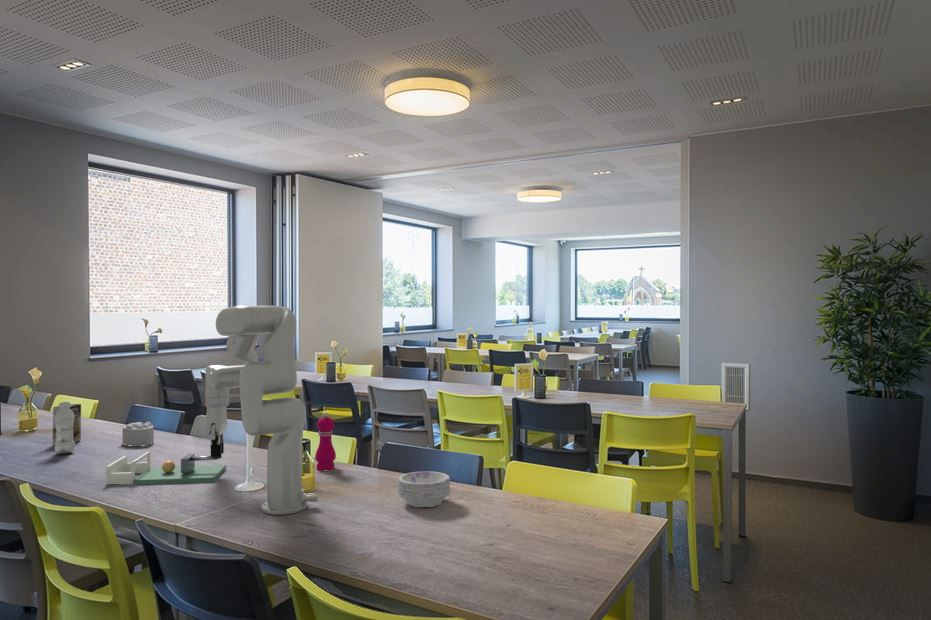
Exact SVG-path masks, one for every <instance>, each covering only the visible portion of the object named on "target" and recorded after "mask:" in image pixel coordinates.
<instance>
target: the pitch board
mask: <svg viewBox="0 0 931 620" xmlns="http://www.w3.org/2000/svg"><path fill="white" fill-rule="evenodd" d="M225 469H227V464H216V465H213V464H212V465H211V464H210V465H195V468H194V469H193V470H192V471H190V472H189V473H181V465H180V466H175V469H174V470H173V471H172V472H170V473H166V472H164V471H163V470H162V466H154V467H153V466H152V467H151V466H150V469H148V470H147V471H145V472H144V473H140V475H138V476H137V477H135V479H134V480H133V484H132V485H133V486H134V484H143V485H158V484H157V483H171V484H193V482H199V483H214V482H215V481H216V480H217V479H218V478H219V477H220V476H221V475H222V474H223V473H224V472H225V471H226V470H225ZM224 470H225V471H224ZM223 471H224V472H223Z"/></svg>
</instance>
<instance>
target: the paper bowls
mask: <svg viewBox="0 0 931 620" xmlns="http://www.w3.org/2000/svg"><path fill="white" fill-rule="evenodd" d="M397 483H398V485H397V486H398V487H397V488H398V491H397V492H398V496H399V497H401V498H403V499H404V500H405V502H406V504H407V505H408V506H410V505H411V506H410V507H412V506H414V507H413V508H417V507H430V508H432V507H431V506H435V507H437V506H436V505H438V506H439V505H440V503H441V504H442V502H443V500H444V498H446V497H448V496H450V493H451V478H450V475H448V474H446V473H444V472H438V471H430V470H429V471H427V470H425V471H423V470H422V471H413V472H407V473H404V474H402V475H400V476H399V477H398V482H397Z"/></svg>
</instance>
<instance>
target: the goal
mask: <svg viewBox="0 0 931 620" xmlns="http://www.w3.org/2000/svg"><path fill="white" fill-rule="evenodd" d="M145 458H146V461H143V462H140V461H142V460H143V459H145ZM150 468H151V451H147V452H144V453H143V454H142V455H141V456H139V457H138V458H136V459H133V460H132V461H131V462H128V455H123V456H122V457H120V458H118V459H116V460H115V461H113V462H112V463H110V464H108V465H106V467H105V485H107V486H110V485H109V484H119V485H133V480H134V479H135V478H136V474H135V473H140V474H143V473H144V472H145V471H147V470H148V469H150Z"/></svg>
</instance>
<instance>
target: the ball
mask: <svg viewBox="0 0 931 620" xmlns="http://www.w3.org/2000/svg"><path fill="white" fill-rule="evenodd" d="M161 467H162V470H163V471H164V472H166V473H170V472H172V471H173V470H174V469H175V467H176V463H175V462H174V461H172V460H166V461H164V462H163V464H162V465H161Z"/></svg>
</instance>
